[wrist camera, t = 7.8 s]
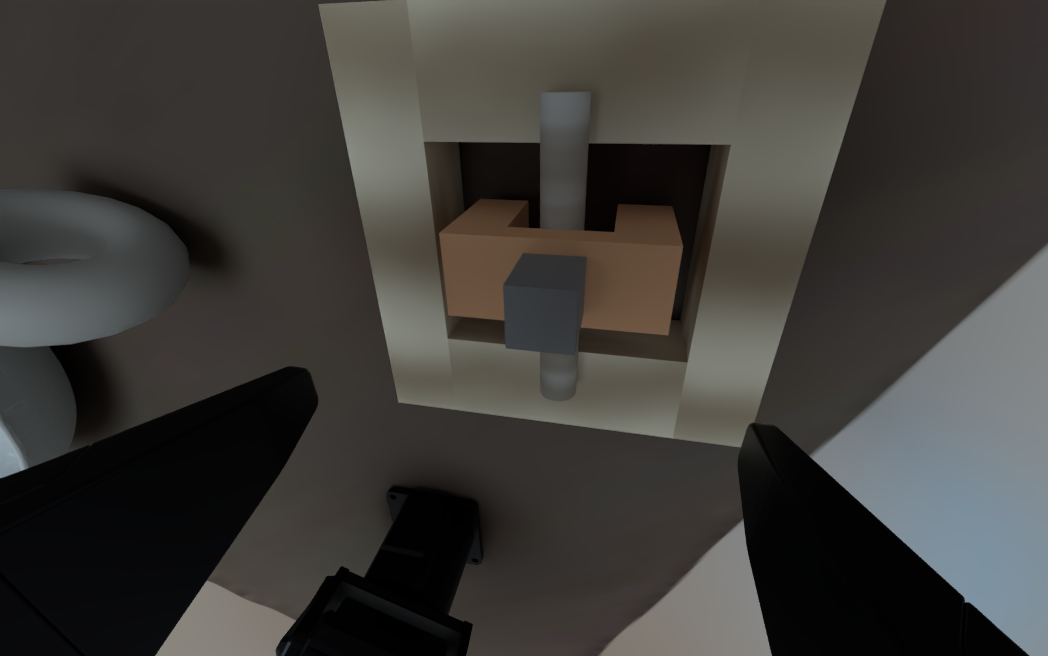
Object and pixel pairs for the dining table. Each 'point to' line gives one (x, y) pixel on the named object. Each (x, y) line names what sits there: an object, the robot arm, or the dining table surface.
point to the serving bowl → (33, 408)
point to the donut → (82, 267)
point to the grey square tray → (564, 135)
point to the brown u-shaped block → (561, 273)
